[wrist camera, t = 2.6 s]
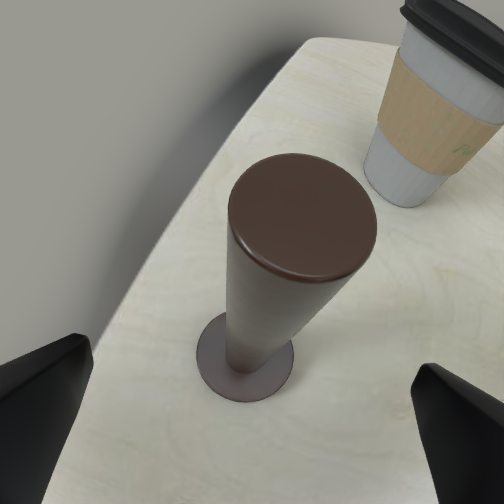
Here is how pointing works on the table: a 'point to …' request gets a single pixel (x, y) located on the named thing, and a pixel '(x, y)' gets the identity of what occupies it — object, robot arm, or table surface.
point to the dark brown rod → (282, 267)
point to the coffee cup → (436, 100)
